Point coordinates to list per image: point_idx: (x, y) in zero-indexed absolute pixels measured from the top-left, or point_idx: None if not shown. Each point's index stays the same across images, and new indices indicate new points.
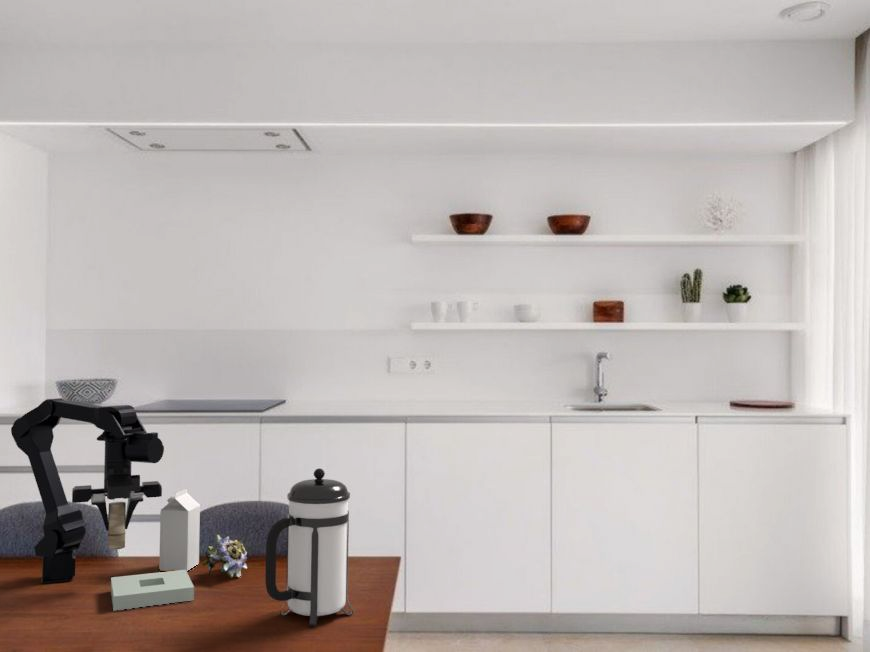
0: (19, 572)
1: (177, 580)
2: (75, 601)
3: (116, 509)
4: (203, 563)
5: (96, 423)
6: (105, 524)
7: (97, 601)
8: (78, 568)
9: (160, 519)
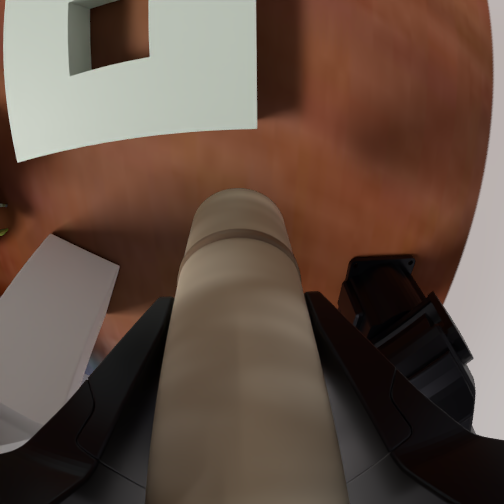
0: None
1: (32, 41)
2: (364, 63)
3: (258, 463)
4: (3, 232)
5: None
6: (343, 321)
7: (300, 29)
8: None
9: (65, 398)
